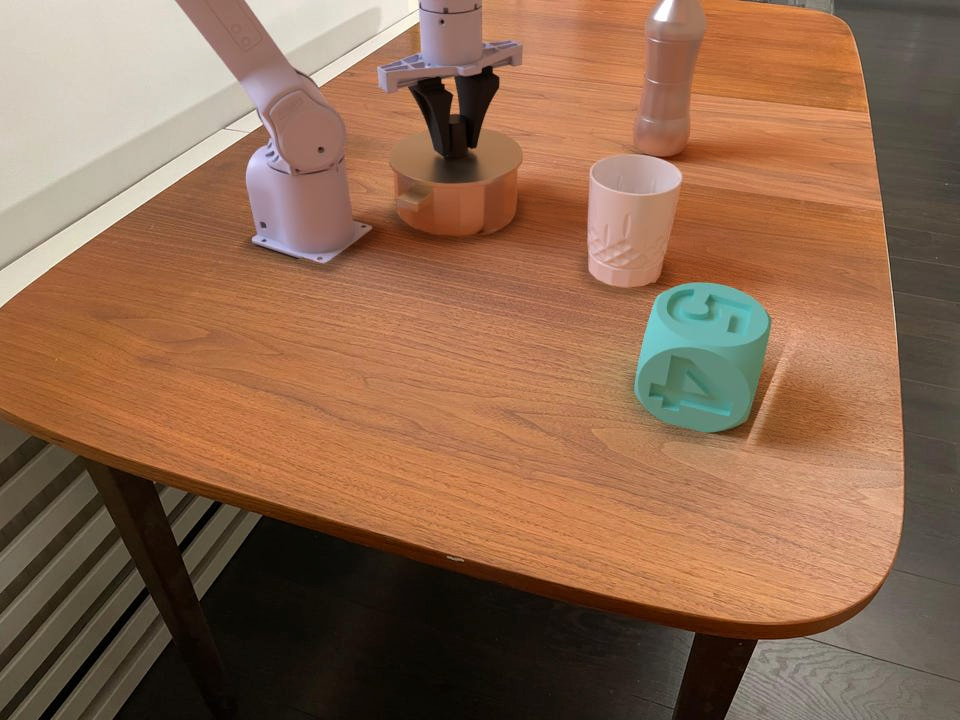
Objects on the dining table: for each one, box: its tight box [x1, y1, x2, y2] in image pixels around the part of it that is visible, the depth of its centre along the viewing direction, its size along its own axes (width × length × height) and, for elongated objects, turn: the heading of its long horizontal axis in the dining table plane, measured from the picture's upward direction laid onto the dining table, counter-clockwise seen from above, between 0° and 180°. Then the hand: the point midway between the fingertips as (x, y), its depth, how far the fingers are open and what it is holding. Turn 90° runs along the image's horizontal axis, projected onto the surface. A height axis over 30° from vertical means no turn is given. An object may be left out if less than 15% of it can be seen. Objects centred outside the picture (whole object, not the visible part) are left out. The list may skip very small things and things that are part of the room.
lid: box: [388, 113, 524, 188], centre depth 76 cm, size 14×14×5 cm
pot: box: [392, 134, 519, 237], centre depth 79 cm, size 13×18×6 cm
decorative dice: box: [633, 281, 773, 433], centre depth 55 cm, size 8×8×8 cm
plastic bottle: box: [632, 0, 708, 157], centre depth 86 cm, size 6×7×20 cm
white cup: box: [586, 153, 684, 289], centre depth 68 cm, size 8×8×10 cm
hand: (455, 148), depth 77 cm, fingers closed on lid, 3 cm apart
